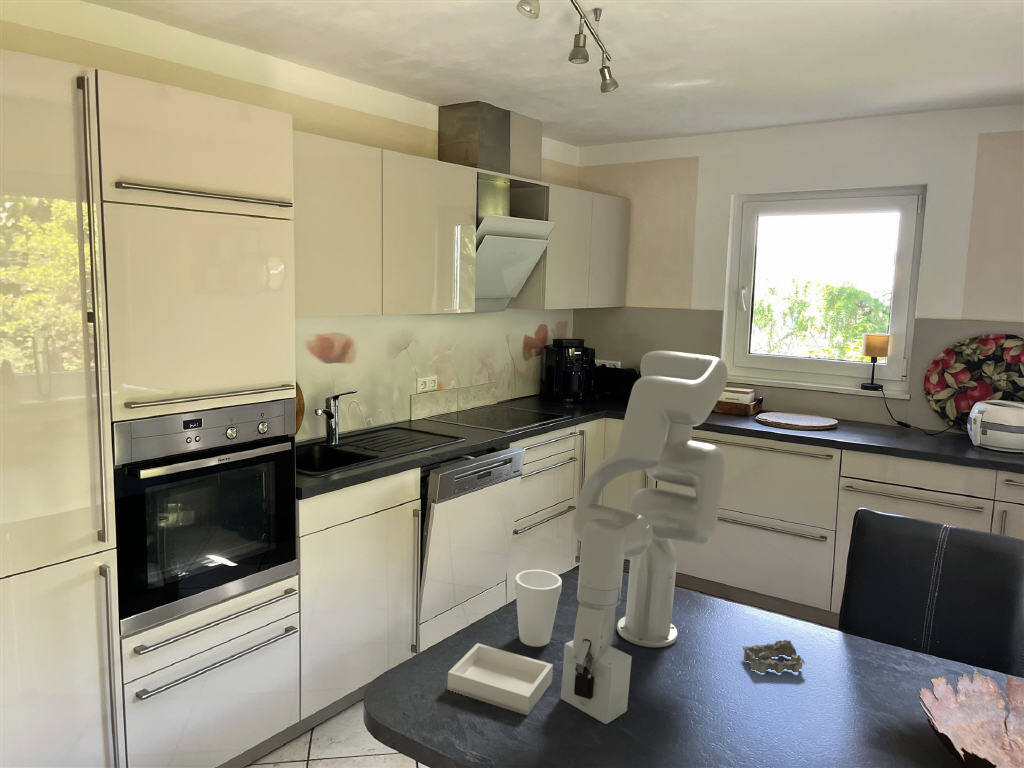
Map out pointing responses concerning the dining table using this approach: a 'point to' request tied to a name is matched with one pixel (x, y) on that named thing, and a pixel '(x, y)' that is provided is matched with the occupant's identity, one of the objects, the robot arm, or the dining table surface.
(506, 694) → the trough
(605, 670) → the skincare box
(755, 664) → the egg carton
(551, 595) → the foam cup
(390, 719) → the dining table surface
